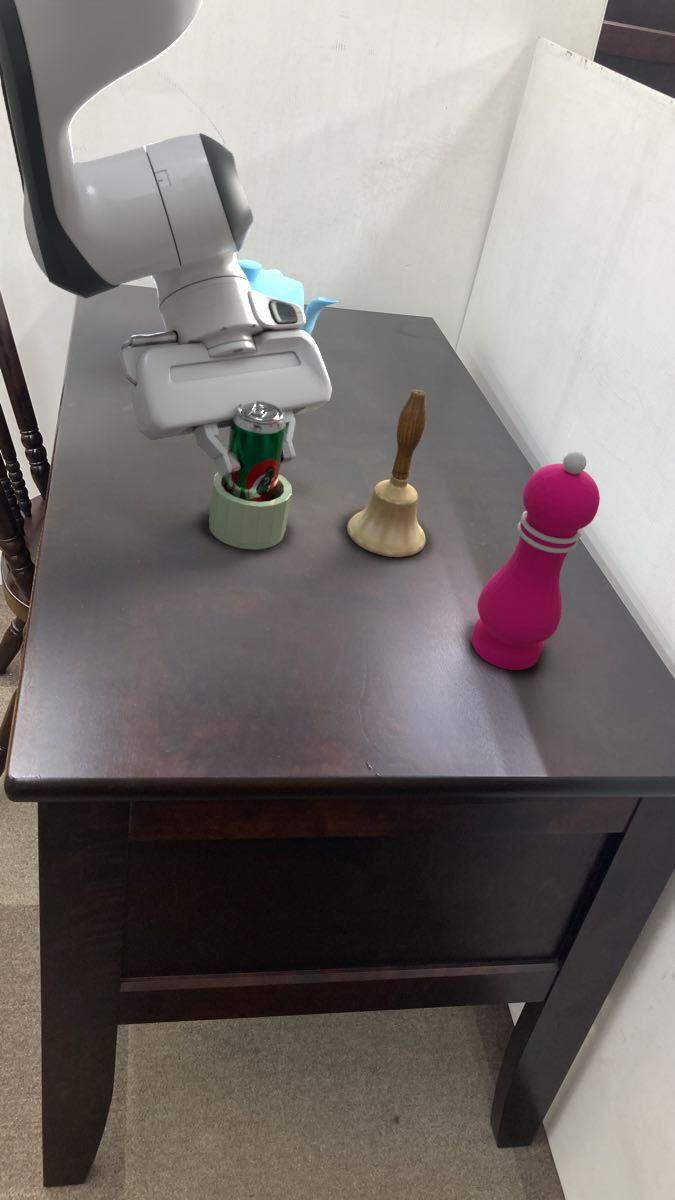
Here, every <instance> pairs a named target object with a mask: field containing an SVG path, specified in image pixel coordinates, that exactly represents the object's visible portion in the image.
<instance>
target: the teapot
mask: <svg viewBox="0 0 675 1200" xmlns="http://www.w3.org/2000/svg"><path fill="white" fill-rule="evenodd" d="M237 262H238V264H239V266H240V268H241V270H242V271H243V273H244V274H245V276H246V278H247V280H248V282H249V285H250V288H251V290H252V291H257V292H259V293H261V294H264V295H267V296H270V297H273V298H276V299H279V300H283V301H287V302H291V303H294V304H297V305H299V306H300V307H301V308H302V309H303V311H304V314H305V317H306V323H305V325H304V326H303V327H302V328H301V329H300V330H303V331H305V332H307V333H308V334H309V335H310V336H312V332H313V330H314V328H315V324H316V322H317V319H318V317H319V315H320V313H321V312H322V311H323V309H325V308H326V307H328V306H330V305H333V304H337V303H339V300H338V299H334V298H330V297H324V296H323V297H322V296H321V297H316V298H314V299H312V300H311V301H310V302H309V303H308V304H307V306H306V307H305V294H304V293H305V291H304V284H303V283H302V282H301V281H299V280H296V279H293V278H290V277H287V276H285V275H283V273H282V271H280V270H278V269H269V270H267V269H264V268H262V267H263V266H262V264H260V262H259V263H258V262H257V261H254V260H250V259H241V260H237Z"/></svg>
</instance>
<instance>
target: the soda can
mask: <svg viewBox="0 0 675 1200" xmlns="http://www.w3.org/2000/svg"><path fill="white" fill-rule="evenodd" d="M256 402H257V403H249V404H246V405H244V406H243V407H242V408H241V405H242V404H239V405H238V406H237V408H236V413H235V415H234V417H233V418H232V419H231V426H230V427H229V435H228V436H229V437H228V445H227V451H228V453H229V452H235V451H236V454H237V456H238V460H237V461H238V462H239V463H240V466H241V469H240V471H238V472H236V473H235V474H231V475H226V476H225V482H224V489H225V491H227V492H228V493H230V494H231V495H233V496H234V497H237V498H240V499H243V500H246V501H254V502H264V501H271V500H274V499H275V496H276V489H277V483H278V476H279V474H280V467H281V464H280V462H281V456H282V449H283V442H284V435H285V429H286V424H285V421H284V419H283V412H282V410H281V409H280V408H278V407H277V406H275V405H273V404H270V403H267V402H262V401H256Z"/></svg>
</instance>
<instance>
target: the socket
mask: <svg viewBox="0 0 675 1200" xmlns="http://www.w3.org/2000/svg"><path fill="white" fill-rule="evenodd" d="M224 482H225V476H220V475H219V473H218V472H217V473H215V475H213V478H212V489H211V497H210V507H209V516H208V528H209V531H210V533H211V534H212V535H213V536H214V537H215V538H216V539H218V541H220V542H221V543H223V544H226V545H229V546H231V547H234V548H237V549H243V550H251V551H252V550H254V551H255V550H256V551H257V550H264V549H265V550H266V549H269V548H272V547H274V546H276V545H278V544H279V543H280V542H281V541H282V540H283V539H284V538H285V534H286V531H287V527H288V521H289V520H288V519H289V514H290V508H291V502H292V495H293V487H292V485H291V483H290V482H289V481H288V479H287V478H286V477H284V475H282V474H280V473H279V476H278V483H277V489H276V496H275V499H274V500H271V501H264V502H254V501H246V500H243V499H240V498H237V497H234V496H233V495H231V494H230V493H228V492H227V491H225V489H224Z"/></svg>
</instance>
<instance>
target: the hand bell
mask: <svg viewBox="0 0 675 1200" xmlns="http://www.w3.org/2000/svg"><path fill="white" fill-rule="evenodd" d="M426 405H427V404H426V392H425V391H424V390H421V389H412V391H411V393H410V395H409V397H408V399H406V402H405V403H404V405H403V407H402V409H401V411H400V413H399V417H398V421H397V427H396V443H397V449H396V450H397V451H396V456H395V459H394V462H393V468H392V469H391V476H390V479H384V480H381V481H379V482H378V483H376V485H375V486H374V488H373V491H372V493H371V497H370V498H369V500H368V503H367V504H366V506H365V507H364V508H363V510H361V511H359V512H357V513H355V514H354V515H353V516H352V517H351V518H350V519H349V520H348V522H347V524H346V531H347V534H348V536H349V537H350V539H351V540H352V541H353V543H355V544H356V545H358V547H360V548H361V549H363V550H366V551H367V552H371V553H372V554H374V555H375V554H376V555H379V556H383V557H389V558H404V557H410V556H414V555H416V554H418V553H419V552H422V550H423V549H424V548H425V546H426V543H427V542H426V534H425V531H424V530H423V528H422V527H421V524H419V522H418V516H417V508H418V499H419V495H418V491H417V490H416V488H414V487H413V486H412V485H411V484H409V482H408V481H409V476H410V469H411V463H412V460H413V459H412V458H413V454H414V452H415V450H416V448H417V446H418V445H419V443H420V442H421V439H422V437H423V434H424V431H425V426H426V422H427V406H426Z"/></svg>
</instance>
